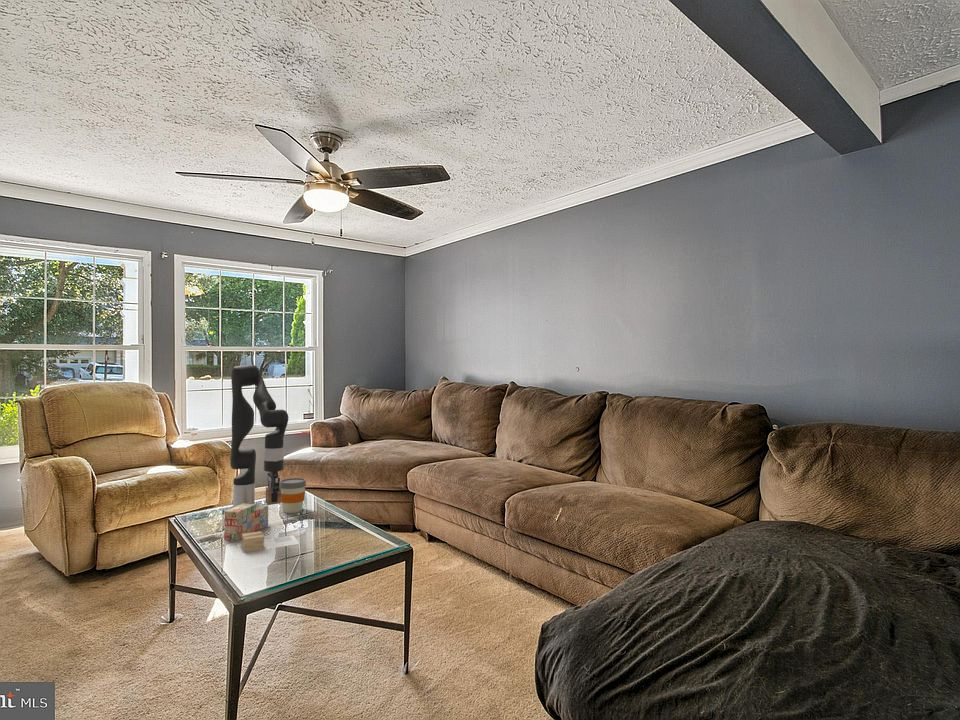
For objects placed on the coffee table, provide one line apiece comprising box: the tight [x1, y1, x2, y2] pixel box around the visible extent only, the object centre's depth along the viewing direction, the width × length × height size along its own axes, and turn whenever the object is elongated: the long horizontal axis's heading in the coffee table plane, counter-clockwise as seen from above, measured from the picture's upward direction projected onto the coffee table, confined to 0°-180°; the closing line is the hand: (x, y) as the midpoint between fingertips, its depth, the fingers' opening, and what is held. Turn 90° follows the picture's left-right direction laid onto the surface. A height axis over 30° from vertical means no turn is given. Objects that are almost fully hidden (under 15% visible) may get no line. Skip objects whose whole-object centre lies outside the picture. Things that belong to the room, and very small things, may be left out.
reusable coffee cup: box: [280, 477, 307, 514], centre depth 254 cm, size 13×13×15 cm
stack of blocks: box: [223, 503, 269, 541], centre depth 220 cm, size 21×6×12 cm, turn 169°
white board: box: [236, 535, 300, 554], centre depth 205 cm, size 12×22×1 cm, turn 121°
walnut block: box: [265, 486, 282, 506], centre depth 207 cm, size 5×5×6 cm
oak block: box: [241, 530, 265, 553], centre depth 200 cm, size 7×7×5 cm
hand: (273, 500), depth 207 cm, fingers closed on walnut block, 5 cm apart
